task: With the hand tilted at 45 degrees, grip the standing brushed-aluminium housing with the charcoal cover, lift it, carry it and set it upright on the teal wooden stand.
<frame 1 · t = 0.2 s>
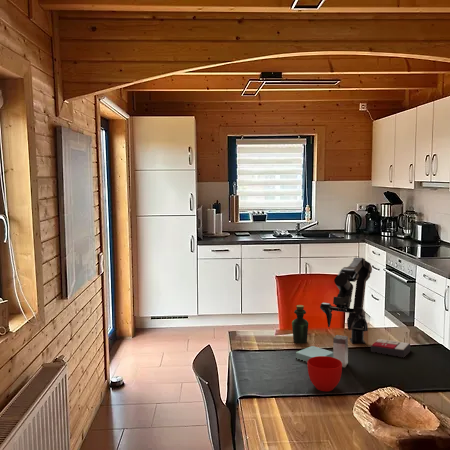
hand: (338, 328, 204), 15 cm above the table, tool tilted 35°, fingers open, 9 cm apart
potion bottle: (300, 342, 233), on the table
stand: (314, 358, 210), on the table
housing: (340, 364, 203), on the table
ceramic cup: (325, 386, 182), on the table
red grey flat block: (390, 352, 218), on the table
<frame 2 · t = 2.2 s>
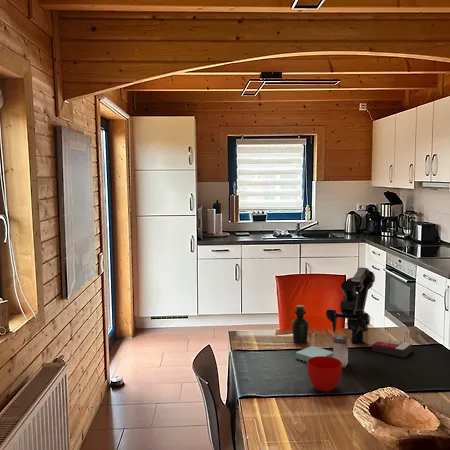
hand: (344, 333, 208), 12 cm above the table, tool tilted 45°, fingers open, 9 cm apart
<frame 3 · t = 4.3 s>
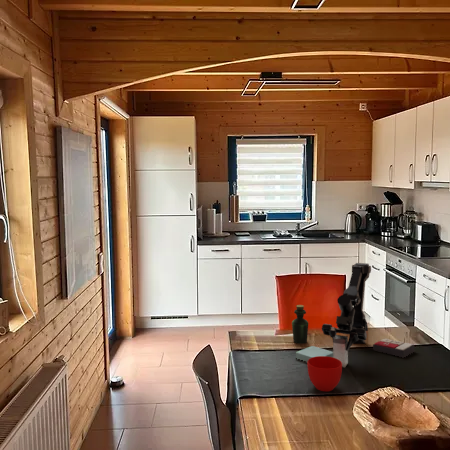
hand: (340, 349, 202), 7 cm above the table, tool tilted 45°, fingers closed on housing, 5 cm apart
housing: (340, 364, 203), on the table, touching gripper
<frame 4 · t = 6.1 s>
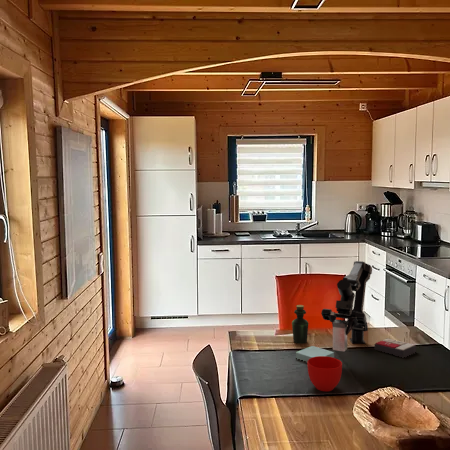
hand: (340, 333, 202), 13 cm above the table, tool tilted 45°, fingers closed on housing, 5 cm apart
housing: (340, 348, 202), point 7 cm above the table, touching gripper
when the fingers open (11 cm above the table, at t = 8.3 s): housing drops 1 cm, resting on stand.
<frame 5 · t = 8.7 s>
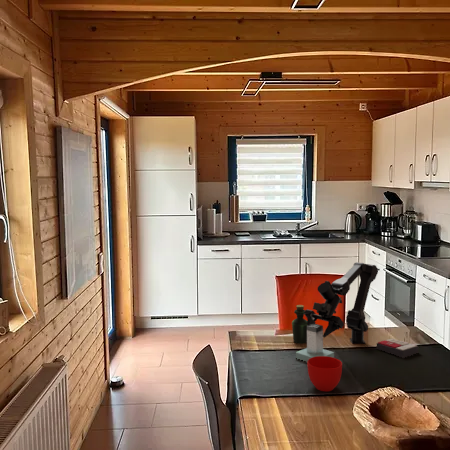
hand: (315, 334, 209), 11 cm above the table, tool tilted 45°, fingers open, 9 cm apart
housing: (315, 352, 209), point 3 cm above the table, touching stand
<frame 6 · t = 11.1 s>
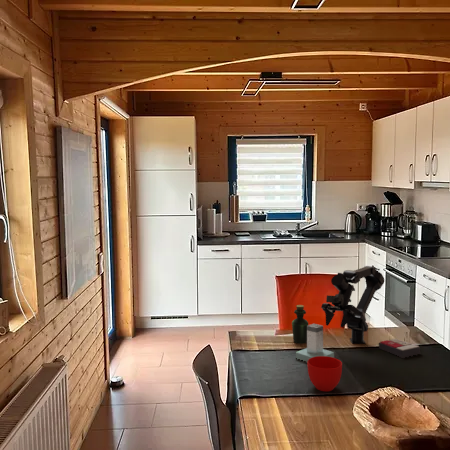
hand: (333, 326, 215), 13 cm above the table, tool tilted 35°, fingers open, 9 cm apart
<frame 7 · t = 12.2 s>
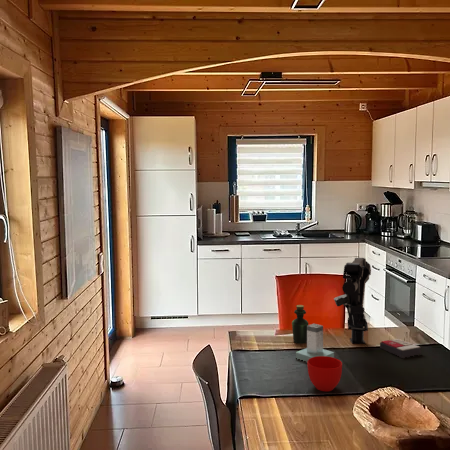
hand: (352, 323, 218), 13 cm above the table, tool pointing down, fingers open, 9 cm apart
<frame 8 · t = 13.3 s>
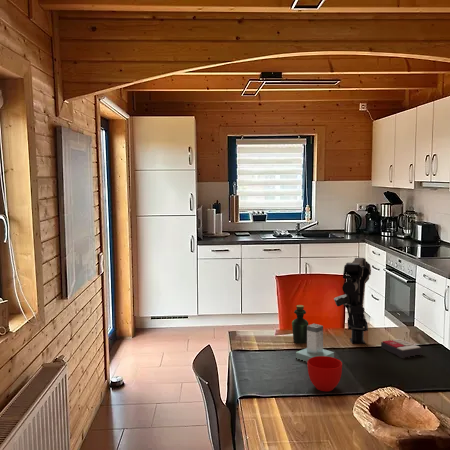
hand: (352, 323, 218), 13 cm above the table, tool pointing down, fingers open, 9 cm apart
at the end: housing inside the target area on the stand (0.1 cm from its centre), point 3.0 cm above the stand's base; housing tilted 0°; the gripper is holding nothing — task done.
